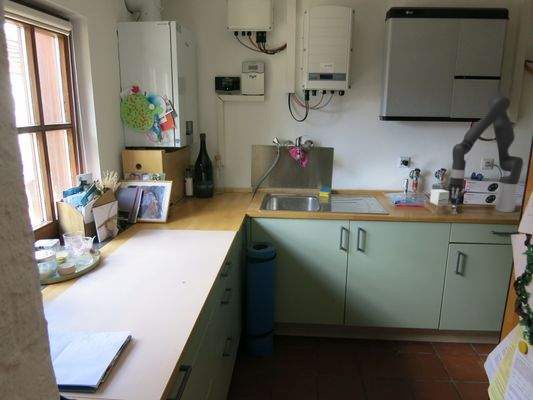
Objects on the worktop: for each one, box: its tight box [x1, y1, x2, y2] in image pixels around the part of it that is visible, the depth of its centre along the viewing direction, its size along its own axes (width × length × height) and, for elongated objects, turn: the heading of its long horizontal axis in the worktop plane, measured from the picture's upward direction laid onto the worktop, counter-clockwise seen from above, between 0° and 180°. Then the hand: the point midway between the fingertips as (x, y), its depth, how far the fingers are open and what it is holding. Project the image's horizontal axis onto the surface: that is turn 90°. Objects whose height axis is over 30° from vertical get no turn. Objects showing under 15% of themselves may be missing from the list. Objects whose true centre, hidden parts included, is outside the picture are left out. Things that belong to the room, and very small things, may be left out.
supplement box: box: [429, 188, 450, 205], centre depth 230 cm, size 7×7×13 cm
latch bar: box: [448, 197, 458, 209], centre depth 232 cm, size 15×2×3 cm, turn 172°
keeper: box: [424, 199, 458, 215], centre depth 231 cm, size 14×14×5 cm
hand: (453, 204), depth 236 cm, fingers closed
